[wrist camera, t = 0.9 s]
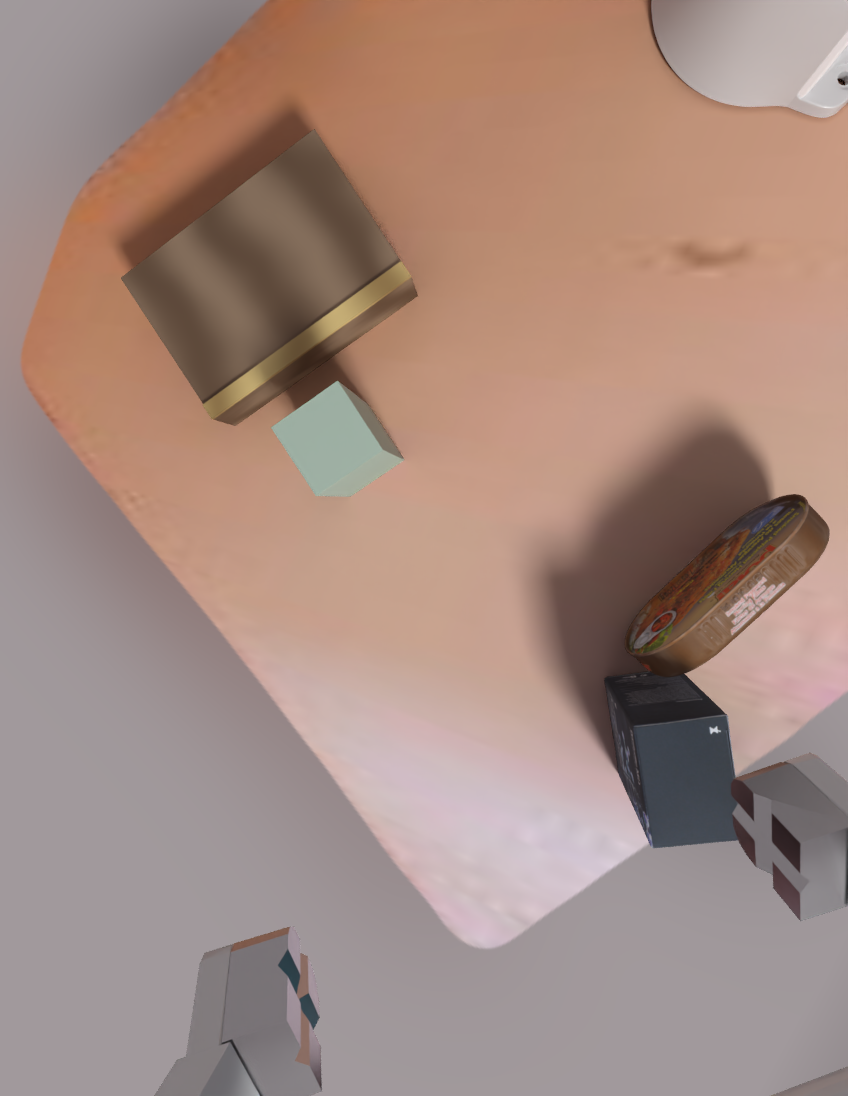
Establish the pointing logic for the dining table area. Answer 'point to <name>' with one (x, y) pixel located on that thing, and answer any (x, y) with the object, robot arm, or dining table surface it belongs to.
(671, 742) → the box
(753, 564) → the tin
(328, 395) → the block
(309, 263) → the block
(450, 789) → the dining table surface
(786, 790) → the robot arm
